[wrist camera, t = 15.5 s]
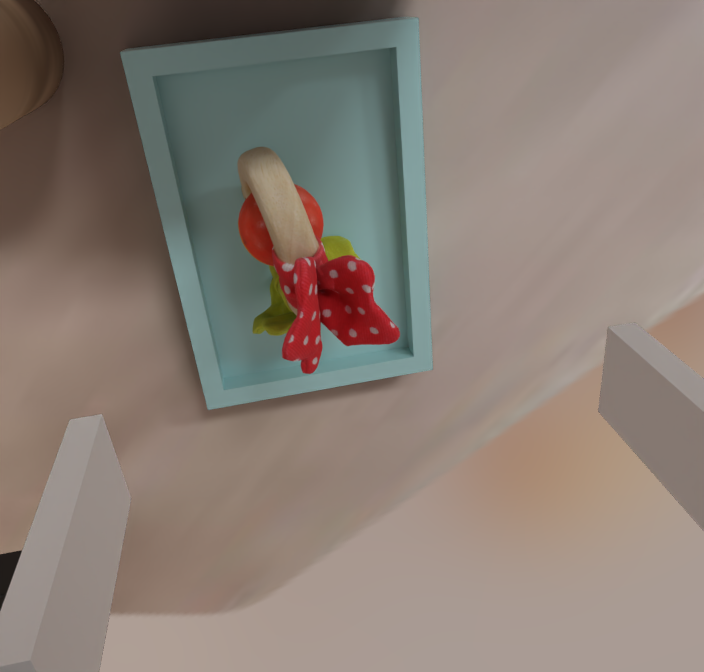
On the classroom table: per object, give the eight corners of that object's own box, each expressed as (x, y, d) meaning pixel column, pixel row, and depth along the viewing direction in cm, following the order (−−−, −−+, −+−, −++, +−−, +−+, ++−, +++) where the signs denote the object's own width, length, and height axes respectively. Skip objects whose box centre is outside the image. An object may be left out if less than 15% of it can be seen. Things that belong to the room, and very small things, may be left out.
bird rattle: (197, 201, 31) (273, 370, 32) (123, 162, 20) (242, 419, 21) (314, 150, 31) (387, 320, 32) (304, 82, 20) (416, 343, 21)
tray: (126, 48, 27) (120, 52, 25) (406, 16, 28) (418, 17, 26) (208, 389, 35) (207, 409, 33) (422, 351, 36) (432, 369, 34)
